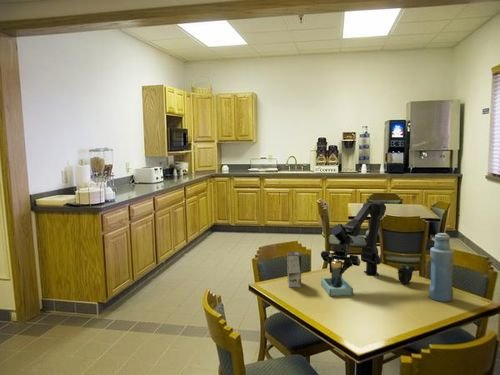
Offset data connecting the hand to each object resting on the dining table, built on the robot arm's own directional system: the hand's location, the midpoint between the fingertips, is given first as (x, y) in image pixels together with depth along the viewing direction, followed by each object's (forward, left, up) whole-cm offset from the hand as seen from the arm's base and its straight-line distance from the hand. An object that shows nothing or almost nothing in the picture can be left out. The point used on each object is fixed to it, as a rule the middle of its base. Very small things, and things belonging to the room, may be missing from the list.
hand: (335, 273), depth 191 cm
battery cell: (-1, +1, -7) cm, 7 cm away
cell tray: (-1, +1, -9) cm, 9 cm away
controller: (-8, +39, -9) cm, 41 cm away
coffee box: (-11, -18, -9) cm, 23 cm away
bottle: (+14, +45, -9) cm, 48 cm away
